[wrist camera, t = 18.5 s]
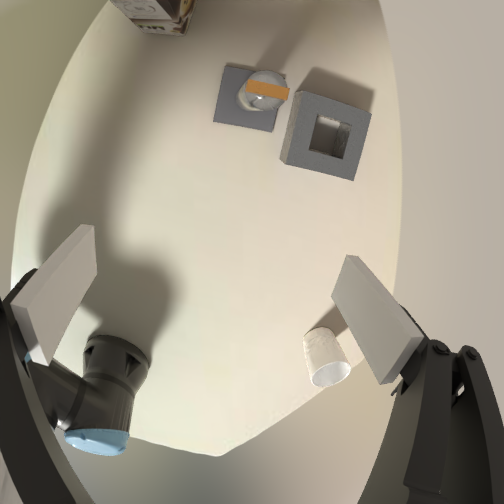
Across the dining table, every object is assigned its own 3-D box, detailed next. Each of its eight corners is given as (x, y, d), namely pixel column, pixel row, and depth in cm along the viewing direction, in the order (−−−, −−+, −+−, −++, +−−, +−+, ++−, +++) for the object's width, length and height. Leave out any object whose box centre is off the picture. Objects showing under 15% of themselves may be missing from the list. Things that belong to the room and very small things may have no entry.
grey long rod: (233, 108, 34) (240, 105, 19) (238, 84, 32) (250, 64, 18) (258, 112, 35) (284, 114, 20) (263, 89, 33) (294, 75, 18)
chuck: (279, 158, 38) (285, 164, 35) (295, 92, 34) (303, 90, 30) (342, 174, 40) (353, 181, 37) (359, 112, 36) (371, 113, 32)
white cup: (315, 319, 54) (330, 357, 45) (342, 330, 56) (359, 366, 48) (291, 345, 57) (302, 383, 48) (319, 354, 59) (331, 389, 50)
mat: (213, 121, 35) (213, 121, 35) (225, 66, 31) (225, 66, 31) (271, 132, 37) (271, 132, 36) (283, 78, 33) (284, 78, 32)
